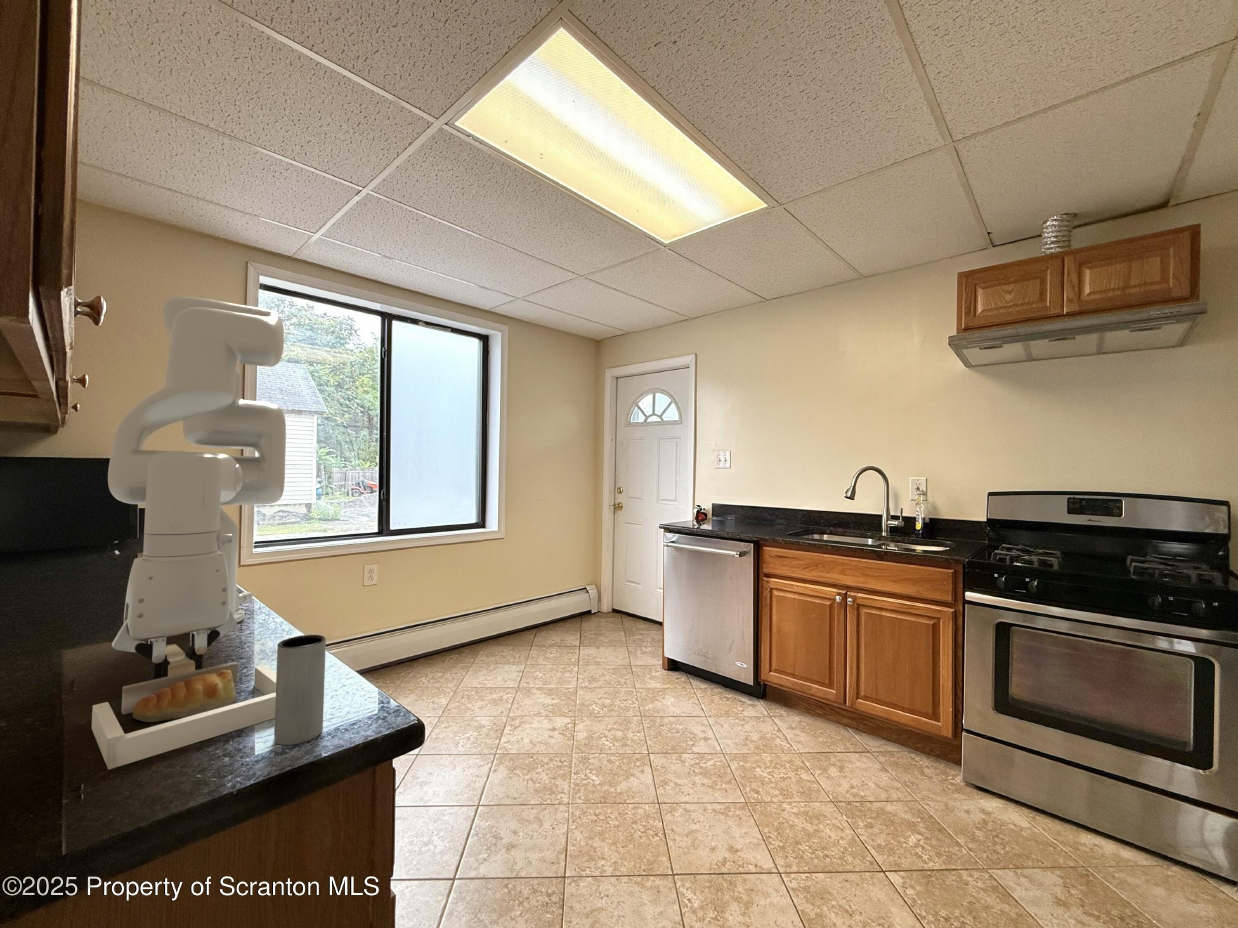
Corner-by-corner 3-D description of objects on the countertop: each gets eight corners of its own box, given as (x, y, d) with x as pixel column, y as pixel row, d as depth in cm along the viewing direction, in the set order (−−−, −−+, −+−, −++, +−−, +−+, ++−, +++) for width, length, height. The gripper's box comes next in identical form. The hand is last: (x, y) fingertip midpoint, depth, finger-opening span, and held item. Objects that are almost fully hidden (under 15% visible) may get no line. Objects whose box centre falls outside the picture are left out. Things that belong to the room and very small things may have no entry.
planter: (266, 737, 55) (269, 641, 55) (310, 720, 59) (313, 631, 59) (285, 750, 53) (289, 650, 53) (330, 732, 56) (333, 639, 57)
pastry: (135, 734, 56) (136, 698, 56) (129, 714, 60) (131, 681, 60) (239, 706, 62) (240, 675, 63) (228, 690, 67) (229, 661, 67)
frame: (91, 728, 56) (92, 705, 56) (264, 683, 69) (265, 664, 69) (108, 769, 49) (109, 743, 49) (299, 710, 61) (299, 689, 61)
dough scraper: (107, 686, 67) (108, 656, 67) (211, 663, 75) (212, 636, 75) (122, 714, 59) (124, 680, 59) (236, 685, 68) (237, 655, 68)
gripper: (246, 538, 75) (241, 663, 75) (91, 548, 63) (84, 698, 62) (263, 543, 70) (258, 676, 70) (100, 555, 58) (92, 718, 58)
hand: (176, 685), depth 66 cm, fingers closed on dough scraper, 2 cm apart
